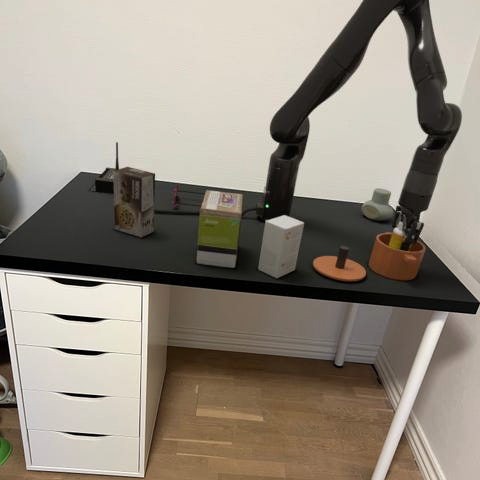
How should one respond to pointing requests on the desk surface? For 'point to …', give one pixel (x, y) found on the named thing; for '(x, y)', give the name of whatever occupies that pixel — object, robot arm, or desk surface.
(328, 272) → the orange pot lid
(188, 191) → the glasses
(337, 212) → the desk surface
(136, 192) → the coffee box
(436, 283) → the desk surface
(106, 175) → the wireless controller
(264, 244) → the small box
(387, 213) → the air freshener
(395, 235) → the supplement bottle
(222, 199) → the tea box
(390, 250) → the orange pot
